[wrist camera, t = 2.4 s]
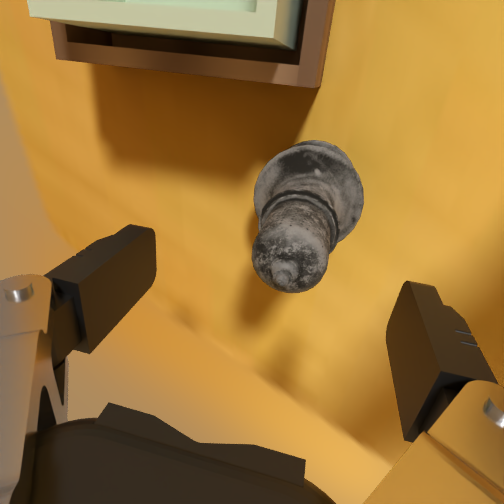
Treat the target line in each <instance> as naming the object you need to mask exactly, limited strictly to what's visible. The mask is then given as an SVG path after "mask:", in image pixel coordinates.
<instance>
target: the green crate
mask: <svg viewBox="0 0 504 504" xmlns="http://www.w3.org/2000/svg"><path fill="white" fill-rule="evenodd" d="M27 3H28V8H29V13H30V17H35V18H40V19H45V20H50V21H55V22H60V23H66V24H71V25H76V26H81V27H86V28H91V29H96V30H101V31H106V32H111V33H116V34H121V35H131V36H141V37H152V38H162V39H173V40H184V41H194V42H205V43H215V44H226V45H237V46H247V47H258V48H268V49H279V50H290V51H296V50H297V42H298V35H299V28H300V20H301V13H302V5H303V0H27Z"/></svg>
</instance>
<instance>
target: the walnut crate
mask: <svg viewBox="0 0 504 504" xmlns="http://www.w3.org/2000/svg"><path fill="white" fill-rule="evenodd" d="M334 6H335V0H303V5H302V13H301V20H300V28H299V35H298V42H297V50H296V51H290V50H279V49H268V48H258V47H247V46H237V45H226V44H215V43H205V42H194V41H184V40H173V39H162V38H152V37H141V36H131V35H121V34H116V33H111V32H106V31H101V30H96V29H91V28H86V27H81V26H76V25H71V24H66V23H60V22H55V21H50V24H51V30H52V36H53V42H54V48H55V54H56V59H59V60H68V61H77V62H86V63H95V64H104V65H112V66H121V67H130V68H139V69H148V70H157V71H166V72H175V73H184V74H193V75H202V76H211V77H220V78H229V79H238V80H246V81H255V82H264V83H273V84H282V85H291V86H300V87H309V88H316V87H319V86H321V82H322V76H323V70H324V64H325V58H326V52H327V47H328V41H329V35H330V29H331V23H332V17H333V12H334Z"/></svg>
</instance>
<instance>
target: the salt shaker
mask: <svg viewBox="0 0 504 504" xmlns="http://www.w3.org/2000/svg"><path fill="white" fill-rule="evenodd" d="M254 205H255V211H256V214H257V216H258V219H259V223H258V229H259V233H258V235H257V237H256V239H255V241H254V244H253V248H252V262H253V267H254V269H255V271H256V273H257V275H258V276H259V277H260V278H261V279H262V281H263V282H265V283H266V284H267V285H269V286H270V287H272V288H274V289H276V290H278V291H281V292H286V293H300V292H304V291H307V290H309V289H311V288H313V287H314V286H315V285H316V284H318V283H319V282H320V280H321V279H322V277H323V275H324V274H325V272H326V270H327V265H328V258H329V254H330V253H331V252H332V251H333V250H334V248H335V246H336V244H337V243H338V242H339V241H341V240H343V239H344V238H345V237H346V236H347V235H348V234H349V233H350V232H351V231H352V230H353V229H354V227H355V226H356V224H357V222H358V220H359V219H360V216H361V212H362V209H363V205H364V196H363V187H362V184H361V181H360V178H359V175H358V173H357V172H356V170H355V169H354V168H353V165H352V163H351V161H350V160H349V158H348V157H347V155H346V154H345V153H344V152H343V151H342V150H340V149H339V148H338V147H337V146H335V145H332V144H330V143H327V142H324V141H317V140H311V141H304V142H301V143H298V144H296V145H294V146H291V147H290V148H289V149H287V150H285V151H283V152H280V153H279V154H278V155H276V156H275V157H274V158H272V159H271V160H270V161H269V162H268V163H267V164H266V166H265V167H264V168H263V170H262V171H261V172H260V174H259V177H258V179H257V182H256V185H255V190H254Z"/></svg>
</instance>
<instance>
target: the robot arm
mask: <svg viewBox="0 0 504 504" xmlns="http://www.w3.org/2000/svg"><path fill="white" fill-rule="evenodd" d="M156 270H157V268H156V239H155V232H154V230H153V229H152V228H147V227H142V226H137V225H132V224H129V225H127V226H126V227H124V228H123V229H121V230H120V231H118V232H117V233H116V234H114V235H111V236H108V237H105V238H102V239H99V240H97V241H95V242H94V243H92V244H91V245H89V246H88V247H86V248H85V250H84V249H83V250H82V251H80V252H79V253H77V254H76V256H72V257H71V258H70V259H68V260H66V261H65V262H63V263H62V264H60V265H59V266H57V267H56V268H54V269H53V270H51V271H50V272H49V273H47V274H45V275H44V276H41V275H34V274H27V275H18V276H13V277H10V278H7V279H4V280H1V281H0V504H336V503H335V502H334V501H333V500H332V499H331V498H330V497H329V496H327V495H326V493H324V492H323V491H321V490H320V489H319V488H318V487H317V486H315V485H314V484H313V483H311V482H309V481H308V480H306V479H305V478H304V474H305V462H306V460H305V459H301V458H298V457H295V456H291V455H288V454H284V453H281V452H277V451H274V450H270V449H267V448H264V447H260V446H257V445H249V444H213V443H212V444H211V443H198V442H196V441H193V440H192V439H190V438H189V437H187V436H186V435H184V434H182V433H181V432H179V431H177V430H176V429H175V428H173V427H171V426H170V425H168V424H167V423H165V422H163V421H162V420H160V419H159V418H157V417H155V416H153V415H150V414H147V413H143V412H140V411H137V410H133V409H130V408H126V407H123V406H119V405H116V404H112V403H108V404H107V406H106V407H105V409H104V410H103V411H102V413H101V414H100V416H99V417H98V418H85V419H78V420H73V421H68V420H67V408H68V365H69V363H68V358H67V355H68V354H69V353H70V352H71V351H72V350H77V351H81V352H84V353H88V354H90V353H91V352H92V351H93V350H94V349H95V348H96V347H97V346H98V345H99V343H100V342H101V341H102V340H103V339H104V338H105V337H106V336H107V335H108V333H109V332H110V331H111V330H112V329H113V328H114V327H115V326H116V325H117V324H118V323H119V321H120V320H121V319H122V318H123V317H124V316H125V315H126V314H127V313H128V312H129V310H130V309H131V308H132V307H133V306H134V305H135V304H136V303H137V301H139V299H140V298H141V297H142V296H143V295H144V294H145V293H146V292H147V291H148V290H149V288H150V287H151V286H152V284H153V282H154V280H155V277H156ZM386 344H387V349H388V355H389V360H390V366H391V371H392V377H393V382H394V388H395V393H396V399H397V404H398V409H399V415H400V420H401V426H402V431H403V437H404V440H405V441H409V442H413V444H412V445H411V446H410V447H409V448H408V450H407V451H406V452H405V453H404V455H403V456H402V457H401V458H400V459H399V461H398V462H397V463H396V464H395V465H394V467H393V468H392V469H391V470H390V471H389V473H388V474H387V475H386V476H385V478H384V479H383V480H382V481H381V483H380V484H379V485H378V486H377V487H376V488H375V490H374V491H373V492H372V493H371V495H370V496H369V497H368V498H367V500H366V501H365V502H364V503H363V504H504V387H502V386H500V385H499V384H498V382H497V380H496V379H495V377H494V375H493V373H492V371H491V369H490V367H489V365H488V363H487V361H486V360H485V358H484V356H483V354H482V352H481V350H480V348H479V347H477V342H476V341H475V339H474V337H473V336H472V335H471V331H470V329H469V327H468V325H467V324H466V322H465V320H464V319H463V318H462V317H461V316H460V315H459V314H458V313H457V312H456V311H455V310H454V309H453V308H452V307H450V306H445V305H443V303H442V301H441V299H440V296H439V294H438V292H437V290H436V288H435V287H434V286H431V285H426V284H421V283H416V282H411V281H406V282H405V283H404V284H403V286H402V288H401V290H400V293H399V296H398V298H397V301H396V303H395V306H394V309H393V311H392V314H391V316H390V319H389V322H388V325H387V330H386Z"/></svg>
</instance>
